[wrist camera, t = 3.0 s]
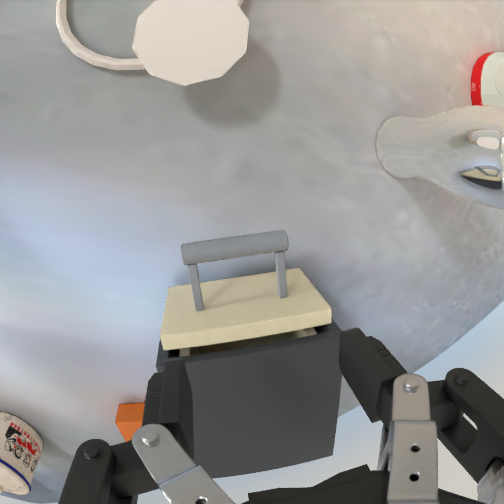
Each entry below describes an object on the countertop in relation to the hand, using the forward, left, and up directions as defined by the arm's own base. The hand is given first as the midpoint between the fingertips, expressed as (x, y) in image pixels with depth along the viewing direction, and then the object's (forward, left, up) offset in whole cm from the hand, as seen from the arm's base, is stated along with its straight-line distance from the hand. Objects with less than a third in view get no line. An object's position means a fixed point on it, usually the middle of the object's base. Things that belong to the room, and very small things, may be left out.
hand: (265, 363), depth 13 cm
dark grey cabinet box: (+11, 0, -16) cm, 19 cm away
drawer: (+7, 0, -15) cm, 16 cm away
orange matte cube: (+18, -13, -16) cm, 27 cm away
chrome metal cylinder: (-8, +17, -16) cm, 25 cm away
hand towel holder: (-23, -4, -16) cm, 28 cm away
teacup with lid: (+21, -35, -16) cm, 44 cm away
